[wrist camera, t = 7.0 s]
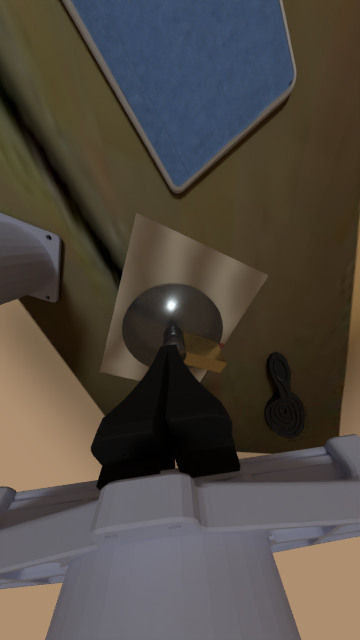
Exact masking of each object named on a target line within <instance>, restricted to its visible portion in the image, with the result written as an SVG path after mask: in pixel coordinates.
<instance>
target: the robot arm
mask: <svg viewBox="0 0 360 640" xmlns="http://www.w3.org/2000/svg"><path fill="white" fill-rule="evenodd" d="M49 235H50V236H51V238H52V239H51V240H50V239H49ZM61 243H62V241H61V238H60V237H59V236H58V235H56V234H53V233H51V232H48V231H46V230H43V229H41V228H38V227H36V226H33V225H31V224H28V223H25V222H23V221H20V220H18V219H15V218H13V217H10V216H8V215H5V214H3V213H0V305H1V304H4V303H7V302H10V301H12V300H15V299H18V298H21V297H23V296H26V295H29V296H33V297H36V298H39V299H43V300H46V301H49V302H53V303H55V302H57V301H58V297H59V279H60V261H61ZM48 296H49V297H50V298H48ZM234 446H235V444H234V440H233V437H232V421H231V419H230V417H229V415H228V413H227V411H226V409H225V408H224V406H223V404H222V403H221V401H220V400H219V399H217V398H216V397H215V396H214V395H212V394H211V393H210V392H209V391H208V390H207V389H206V388H205V387H204V386H203V385H202V384H201V383H200V382H199V381H198V380H197V379H196V378H195V377H194V375H193V374H192V373H191V372H190V370H189V369H188V368H187V366H186V364H185V363H184V361H183V359H182V358H181V356H180V354H179V351H178V348H177V345H176V344H172V345H165V346H161V347H160V348H159V351H158V353H157V355H156V357H155V359H154V361H153V363H152V364H151V366H150V368H149V369H148V371H147V372H146V374H145V375H144V377H143V378H142V380H141V381H140V382H139V383H138V385H137V386H136V387H135V388H134V389H133V391H132V392H131V393H130V394H129V395H128V396H127V397H126V398H125V399H124V400H123V401H122V402H121V403H120V404H119V405H118V406H117V407H115V408H114V409H113V410H112V411H111V412H110V413H108V414H107V415H106V416H105V417H104V418H103V419H102V421H101V424H100V426H99V428H98V430H97V433H96V435H95V438H94V440H93V443H92V446H91V452H92V454H93V455H94V457H95V458H96V459H97V460H98V461H99V462H100V464H101V465H102V469H101V472H100V475H99V479H98V480H95V481H89V482H82V483H75V484H69V485H62V486H56V487H48V488H42V489H36V490H28V491H21V492H16V490H14V489H12V488H10V487H0V589H7V588H15V587H24V586H34V585H43V584H53V583H63V584H62V587H61V591H60V594H59V597H58V600H57V603H56V607H55V610H54V613H53V617H52V620H51V623H50V626H49V630H48V632H47V636H46V639H45V640H301V638H300V635H299V632H298V629H297V626H296V623H295V620H294V617H293V614H292V611H291V608H290V605H289V602H288V599H287V596H286V593H285V590H284V587H283V584H282V581H281V578H280V575H279V572H278V569H277V566H276V563H275V560H274V557H273V554H272V553H274V552H279V551H284V550H290V549H295V548H300V547H305V546H310V545H315V544H321V543H326V542H331V541H336V540H341V539H347V538H352V537H358V536H360V438H359V437H358V435H355V434H352V435H345V436H339V437H333V438H331V439H329V440H328V441H327V442H326V444H325V446H324V447H317V448H311V449H304V450H297V451H290V452H284V453H277V454H270V455H264V456H257V457H250V458H243V459H238V456H237V453H236V450H235V447H234ZM175 460H176V463H177V466H178V468H176V469H175Z"/></svg>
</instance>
